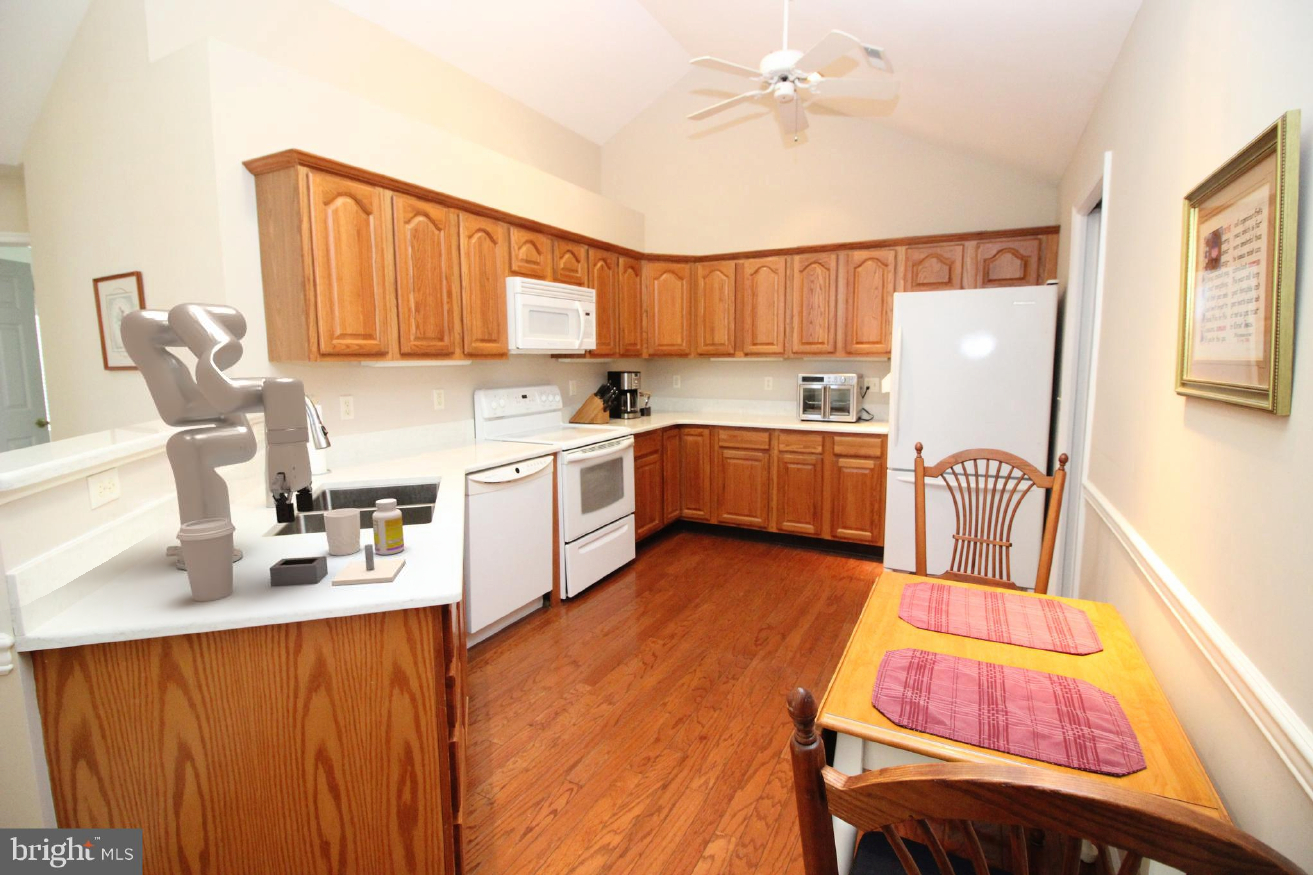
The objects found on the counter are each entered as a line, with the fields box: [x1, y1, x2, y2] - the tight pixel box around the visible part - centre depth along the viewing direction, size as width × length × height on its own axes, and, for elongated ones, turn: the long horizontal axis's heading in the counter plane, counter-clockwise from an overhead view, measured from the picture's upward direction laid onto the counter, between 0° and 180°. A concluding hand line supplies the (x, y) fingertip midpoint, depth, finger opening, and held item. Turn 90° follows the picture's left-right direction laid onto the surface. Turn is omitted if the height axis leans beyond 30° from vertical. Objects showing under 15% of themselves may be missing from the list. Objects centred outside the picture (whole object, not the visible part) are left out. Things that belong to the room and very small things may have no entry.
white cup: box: [323, 507, 361, 557], centre depth 149 cm, size 8×8×10 cm
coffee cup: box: [175, 518, 237, 602], centre depth 121 cm, size 10×10×15 cm
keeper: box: [331, 543, 407, 586], centre depth 133 cm, size 12×12×6 cm
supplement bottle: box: [371, 498, 405, 556], centre depth 148 cm, size 7×7×13 cm
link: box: [269, 555, 329, 587], centre depth 130 cm, size 9×6×4 cm, turn 100°
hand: (296, 516), depth 128 cm, fingers open, 9 cm apart
